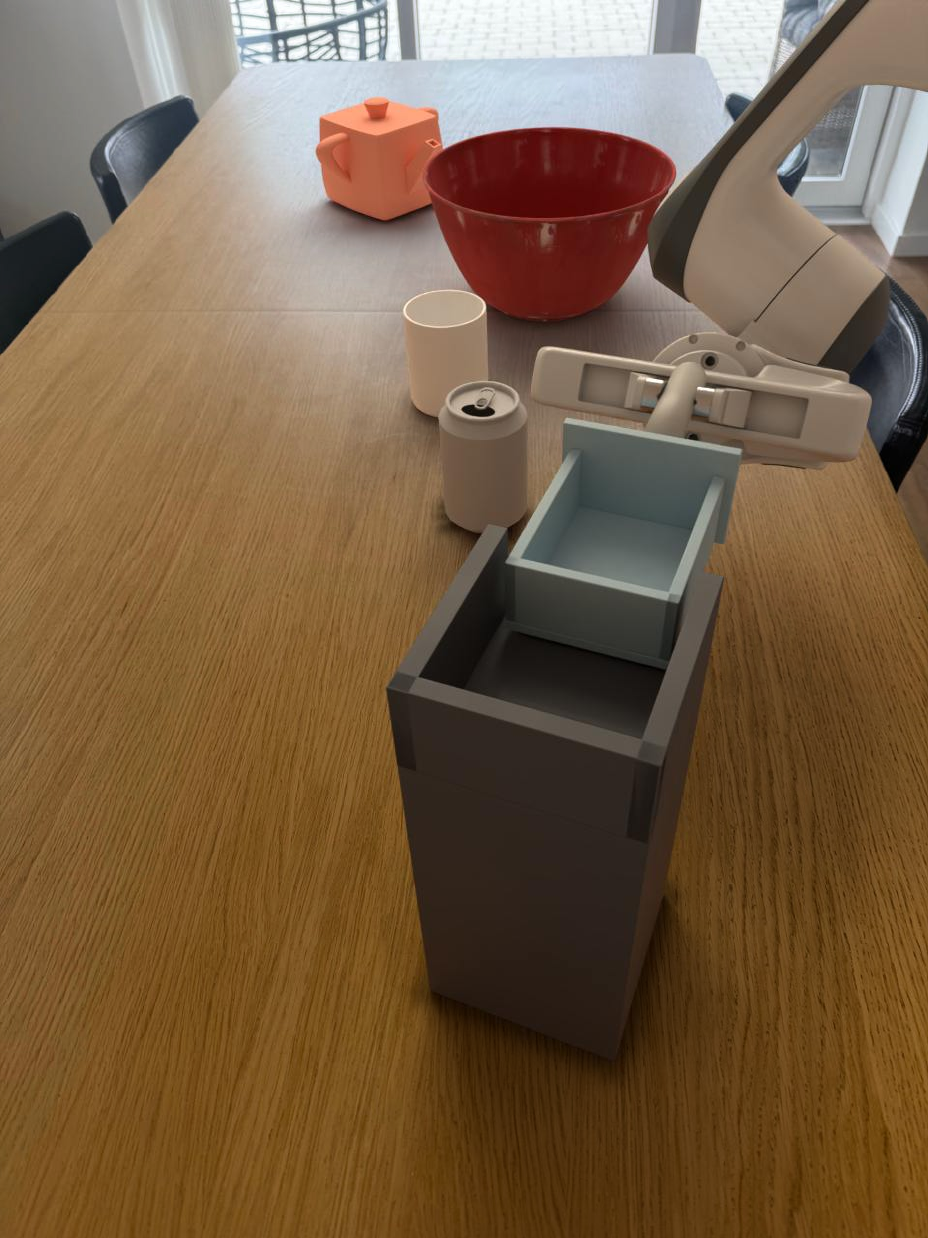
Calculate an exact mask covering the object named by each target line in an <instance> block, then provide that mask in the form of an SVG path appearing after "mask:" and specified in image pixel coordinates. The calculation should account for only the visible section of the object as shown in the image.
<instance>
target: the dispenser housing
mask: <svg viewBox="0 0 928 1238" xmlns="http://www.w3.org/2000/svg"><path fill="white" fill-rule="evenodd" d="M508 528H509V527H508ZM508 528H504V527H500V526H495V525H491V524H488V525H487V527H486V528H485V530H484V532H483V533H481V535H480V537H479V538H478V540H477V541H476V543H475V544H474V546H473V547H472V549H471V551H470V552H469V554H468V555H467V557H466V558H465V560H464V561H463V563H462V564H461V567H460V568H459V570H458V571H457V573H456V574H455V576H454V578H453V579H452V581H451V582H450V584H449V586H448V587H447V589H446V591H445V592H444V593H443V596H442V597H441V599H440V600H439V601H438V603H437V605H436V606H435V608H434V610H433V611H432V613H431V614H430V616H429V618H428V619H427V621H426V622H425V624H424V625H423V627H422V628H421V630H420V632H419V634H418V635H417V637H416V638H415V640H414V642H413V643H412V645H411V647H410V648H409V650H408V651H407V653H406V654H405V656H404V657H403V659H402V660H401V662H400V664H399V665H398V667H397V669H396V670H395V672H394V673H393V675H392V677H391V678H390V680H389V681H388V683H387V685H386V686H385V692H386V699H387V707H388V713H389V720H390V726H391V734H392V740H393V746H394V751H395V752H394V753H395V761H396V766H397V774H398V778H399V779H398V780H399V787H400V794H401V800H402V808H403V814H404V821H405V828H406V835H407V842H408V849H409V856H410V863H411V868H412V876H413V883H414V889H415V896H416V902H417V911H418V917H419V924H420V931H421V937H422V944H423V951H424V959H425V965H426V966H425V967H426V972H427V973H426V974H427V980H428V985H429V991H431V992H433V993H436V994H438V995H440V996H443V997H446V998H448V999H451V1000H453V1001H456V1002H459V1003H461V1004H464V1005H467V1006H469V1007H471V1008H474V1009H476V1010H480V1011H481V1012H485V1013H487V1014H490V1015H492V1016H495V1017H498V1018H499V1019H503V1020H505V1021H508V1022H511V1023H512V1024H516V1025H518V1026H521V1027H522V1028H526V1029H528V1030H531V1031H534V1032H537V1033H539V1034H541V1035H544V1036H546V1037H549V1038H551V1039H554V1040H557V1041H559V1042H562V1043H564V1044H567V1045H570V1046H573V1047H575V1048H577V1049H580V1050H582V1051H585V1052H588V1053H591V1054H594V1055H595V1056H598V1057H601V1058H603V1059H606V1060H608V1061H611V1062H615V1061H616V1058H617V1054H618V1051H619V1048H620V1045H621V1041H622V1038H623V1034H624V1030H625V1027H626V1024H627V1021H628V1017H629V1014H630V1010H631V1006H632V1004H633V1000H634V997H635V994H636V990H637V987H638V983H639V980H640V977H641V974H642V971H643V967H644V962H645V959H646V957H647V953H648V949H649V946H650V944H651V940H652V936H653V934H654V933H653V932H654V929H655V925H656V923H657V919H658V916H659V912H660V909H661V906H662V903H663V899H664V896H665V890H666V887H667V886H666V885H667V881H668V875H669V870H670V865H671V860H672V855H673V850H674V846H675V845H674V844H675V838H676V833H677V828H678V822H679V818H680V813H681V808H682V802H683V797H684V791H685V787H686V781H687V776H688V771H689V765H690V760H691V754H692V749H693V744H694V739H695V733H696V729H697V723H698V718H699V713H700V707H701V704H702V703H701V702H702V697H703V692H704V688H705V687H704V686H705V681H706V677H707V671H708V667H709V666H708V665H709V660H710V655H711V650H712V645H713V640H714V635H715V629H716V624H717V618H718V613H719V608H720V604H721V598H722V592H723V587H724V581H725V576H724V575H719V574H716V573H710V572H708V571H707V572H706V571H704V572H702V573H701V575H700V578H699V581H698V583H697V586H696V589H695V592H694V595H693V597H692V600H691V603H690V606H689V608H688V611H687V614H686V617H685V620H684V622H683V625H682V628H681V631H680V634H679V636H678V639H677V642H676V645H675V648H674V650H673V653H672V656H671V659H670V662H669V664H668V667H667V670H665V669H661V668H657V667H653V666H649V665H645V664H641V663H637V662H634V661H630V660H626V659H622V658H618V657H614V656H610V655H606V654H602V653H598V652H594V651H590V650H587V649H583V648H579V647H575V646H571V645H567V644H563V643H559V642H555V641H551V640H547V639H544V638H540V637H536V636H532V635H528V634H524V633H520V632H516V631H512V630H508V629H506V607H505V562H506V560H507V558H508V557H509V529H508Z"/></svg>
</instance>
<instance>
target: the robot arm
mask: <svg viewBox="0 0 928 1238" xmlns="http://www.w3.org/2000/svg"><path fill="white" fill-rule="evenodd" d="M865 86H889V87H897V88H905V89H910V90H916V91H920V92H924V93H928V0H837V2H836V3H835V4H833V6H832V7H831V8H830V10H829V11H828V12H827V13H826V14H825V15H824V16H823V17H822V18H821V19H820V21H819V22H817V24H816V25H815V26H814V28H812V30H811V31H810V32H809V33H808V34H807V36H806V37H805V38H804V39H803V40H802V41H801V43H799V45H798V46H796V48H795V49H794V51H792V53H791V54H790V56H788V58H787V59H786V60H785V61H784V62H783V64H782V65H781V66H780V67H779V68H778V69H777V71H776V72H775V73H774V75H772V77H771V78H770V79H769V81H767V82H766V84H765V85H764V87H763V88H761V90H760V91H759V92H758V94H756V96H755V97H754V99H752V100H751V102H750V103H749V104H748V106H746V108H745V109H744V110H743V111H742V113H741V114H740V115H739V116H738V117H737V119H736V120H735V121H734V122H733V124H732V125H731V126H730V127H729V128H728V130H727V131H726V132H725V133H724V134H723V136H722V137H721V138H720V139H719V140H718V141H717V142H716V144H715V145H714V146H713V147H712V148H711V149H710V151H709V152H708V153H707V154H706V155H705V156H704V157H703V158H702V159H701V161H699V162H698V164H697V165H695V166H694V167H693V168H691V169H690V170H689V171H688V172H687V173H686V174H685V175H683V176H682V177H681V178H680V179H679V180H678V182H676V183H675V184H674V186H672V187H671V188H670V189H669V192H668V194H667V195H666V197H665V198H664V199H663V201H662V202H661V203H660V205H659V207H658V208H657V210H656V212H655V214H654V216H653V218H652V220H651V222H650V224H649V226H648V229H647V240H648V244H647V252H648V259H649V265H650V268H651V272H652V277H653V278H654V279H655V280H656V281H657V282H659V283H660V284H661V285H663V286H665V288H667V289H668V290H670V291H671V292H673V293H674V294H675V295H676V296H679V297H680V298H681V299H682V300H683V301H685V302H687V303H689V304H692V305H693V306H695V307H696V308H697V309H698V310H699V311H700V312H702V313H703V314H704V316H706V317H707V318H709V319H710V320H711V321H712V322H713V323H714V324H715V325H717V326H718V327H719V328H720V329H722V330H723V331H724V332H718V331H702V332H695V333H692V334H689V335H686V336H683V337H681V338H678V339H676V340H675V341H673V342H671V343H670V344H668V345H667V346H666V347H665V348H664V349H662V350H661V351H660V352H659V353H658V354H657V355H656V356H655V358H654V359H653V360H652V361H648V360H642V359H636V358H630V357H622V356H618V355H617V356H616V355H611V354H603V353H597V352H592V351H584V350H579V349H572V348H565V347H559V346H553V345H552V346H551V345H550V346H549V345H548V346H542V347H541V348H540V349H539V350H538V352H537V354H536V357H535V361H534V365H533V372H532V378H531V384H530V385H531V386H530V398H531V400H532V401H533V402H534V403H535V404H538V405H540V406H543V407H549V408H557V409H560V410H566V411H572V412H577V413H584V414H589V415H595V416H600V417H605V418H611V419H612V418H613V419H617V420H622V421H623V420H624V421H628V422H635V423H640V424H642V428H643V430H644V429H645V427H646V425H647V423H648V421H649V419H650V417H651V415H652V413H653V411H654V409H655V407H656V405H657V403H658V401H659V399H660V397H661V395H662V393H663V391H664V389H665V387H666V385H667V383H668V381H669V379H670V377H671V375H672V373H673V371H674V370H675V368H676V367H677V366H679V365H680V364H682V363H685V362H694V363H697V364H699V365H700V366H701V367H702V368H703V369H704V371H705V373H706V384H705V387H700V386H698V389H697V392H696V396H695V399H696V402H697V403H696V404H695V405H694V406H693V413H692V416H691V418H690V421H689V423H688V425H687V427H686V430H685V432H684V434H683V436H682V438H683V439H689V440H694V441H700V442H705V443H711V444H716V445H722V446H727V447H733V448H738V449H742V455H741V461H740V466H741V465H753V464H754V465H755V464H756V465H757V464H760V465H762V466H776V467H785V468H794V469H800V470H807V469H810V470H813V471H814V470H815V471H822V470H824V469H826V468H827V467H828V464H829V463H848V462H852V461H855V460H856V459H857V458H858V456H859V454H860V451H861V446H862V444H863V440H864V437H865V433H866V430H867V426H868V421H869V418H870V413H871V409H872V405H873V404H872V403H873V399H872V396H871V394H870V393H869V392H868V391H866V390H865V389H864V388H862V387H861V386H858V385H856V384H853V383H850V378H851V377H850V374H851V373H852V372H853V371H854V370H855V368H857V366H858V365H859V364H860V363H861V361H862V360H863V359H864V358H865V356H866V355H867V354H868V352H869V351H870V350H871V348H872V346H873V345H874V343H876V340H877V339H878V338H879V336H880V334H881V333H882V331H883V330H884V328H885V326H886V324H887V323H888V319H889V312H890V305H891V284H890V279H889V278H890V277H889V275H888V274H885V273H884V272H883V271H882V270H881V269H880V268H879V267H878V266H877V265H876V264H874V263H873V261H871V260H870V259H869V258H867V257H866V256H865V255H864V254H863V253H862V252H860V251H859V250H858V249H857V248H856V247H854V245H852V244H851V243H850V242H849V241H847V240H846V239H845V238H844V237H843V236H841V235H840V234H836V233H835V232H834V230H832V229H831V228H830V227H828V226H827V225H826V224H825V223H823V222H822V221H821V220H820V219H819V218H817V217H816V216H815V215H814V214H812V213H811V211H809V210H808V209H807V208H805V207H804V206H803V205H802V204H801V203H799V202H798V201H797V200H795V199H794V198H793V197H792V196H791V195H790V194H789V193H788V192H786V190H785V189H784V188H783V186H782V184H781V183H780V180H779V178H778V168H779V165H781V164H782V163H783V162H784V160H785V159H786V158H787V157H788V156H789V155H790V154H791V153H792V152H793V151H794V150H795V149H796V147H797V146H798V145H800V143H802V141H803V140H804V139H805V138H806V137H807V136H808V134H810V132H811V131H812V130H814V128H815V127H816V126H817V125H818V124H819V123H820V122H821V121H822V120H823V119H824V117H825V116H827V114H828V113H829V112H830V111H831V110H832V109H833V108H834V107H835V106H836V104H838V103H839V101H841V99H842V98H843V97H844V96H845V95H846V94H847V93H848V92H849V91H850V90H853V89H856V88H859V87H865Z"/></svg>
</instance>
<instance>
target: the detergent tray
mask: <svg viewBox="0 0 928 1238" xmlns="http://www.w3.org/2000/svg"><path fill="white" fill-rule="evenodd" d="M705 384H706V373H705V371H704V369H703V368H702V367H701V366H700V365H699V364H697V363H694V362H685V363H682V364H680V365H679V366H677V367H676V368H675V370H674V371H673V373H672V375H671V377H670V379H669V381H668V383H667V385H666V387H665V389H664V391H663V393H662V395H661V397H660V399H659V401H658V403H657V405H656V407H655V409H654V411H653V413H652V415H651V417H650V419H649V421H648V423H647V425H646V427H645V429H644V428H643V430H638V429H633V428H626V427H622V426H616V425H612V424H611V425H610V424H605V423H599V422H594V421H588V420H582V419H577V418H571V417H566V418H565V419H564V421H563V422H562V447H561V465H560V467H559V469H558V470H557V472H556V474H555V475H554V478H553V479H552V481H551V482H550V484H549V486H548V487H547V490H546V491H545V493H544V495H543V496H542V498H541V500H540V501H539V503H538V505H537V506H536V508H535V510H534V512H533V514H532V515H531V517H530V519H529V520H528V522H527V524H526V525H525V527H524V529H523V531H522V532H521V534H520V536H519V537H518V539H517V541H516V543H515V544H514V547H513V548H512V549H511V552H510V553H509V554H508V558H507V560H506V562H505V607H506V629H508V630H512V631H516V632H520V633H524V634H528V635H532V636H536V637H540V638H544V639H547V640H551V641H555V642H559V643H563V644H567V645H571V646H575V647H579V648H583V649H587V650H590V651H594V652H598V653H602V654H606V655H610V656H614V657H618V658H622V659H626V660H630V661H634V662H637V663H641V664H645V665H649V666H653V667H657V668H661V669H665V670H667V667H668V664H669V662H670V659H671V656H672V653H673V650H674V648H675V645H676V642H677V639H678V636H679V634H680V631H681V628H682V625H683V622H684V620H685V617H686V614H687V611H688V608H689V606H690V603H691V600H692V597H693V595H694V592H695V589H696V586H697V583H698V581H699V578H700V575H701V573H702V572H705V570H706V568H707V565H708V562H709V560H710V559H709V558H710V556H711V554H712V550H713V548H714V546H715V544H718V545H725V543H726V540H727V536H728V530H729V524H730V519H731V514H732V508H733V504H734V498H735V492H736V487H737V482H738V477H739V471H740V466H741V465H740V461H741V455H742V449H738V448H733V447H727V446H722V445H716V444H711V443H705V442H700V441H694V440H689V439H683V438H682V436H683V434H684V432H685V430H686V427H687V425H688V423H689V421H690V418H691V416H692V413H693V406H694V405H695V404H696V403H697V402H696V399H695V396H696V392H697V389H698V386H700V387H705Z"/></svg>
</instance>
